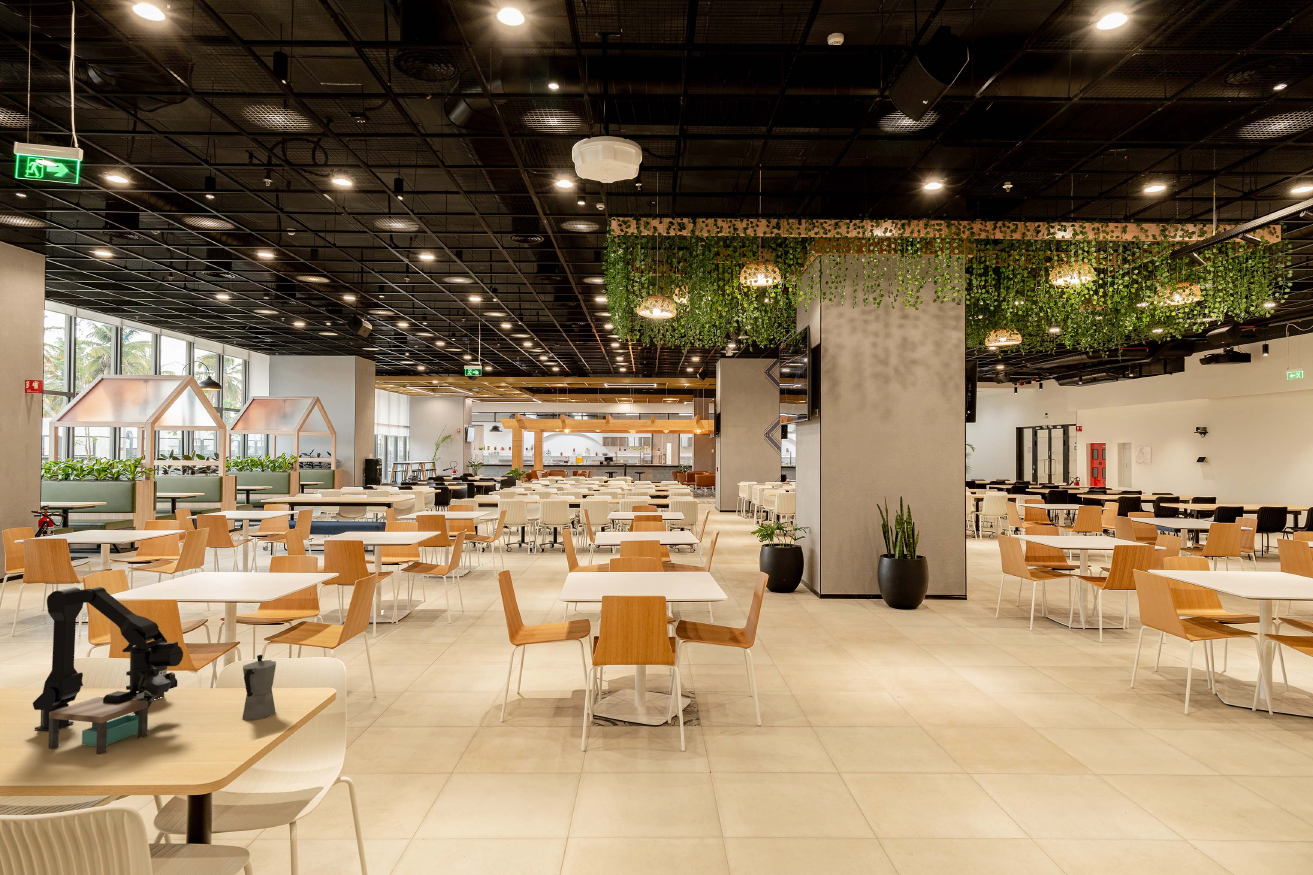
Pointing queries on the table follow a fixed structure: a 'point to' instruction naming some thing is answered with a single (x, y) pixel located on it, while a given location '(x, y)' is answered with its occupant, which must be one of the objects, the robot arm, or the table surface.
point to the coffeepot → (259, 689)
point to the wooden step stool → (97, 718)
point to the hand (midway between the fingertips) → (141, 720)
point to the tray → (113, 730)
